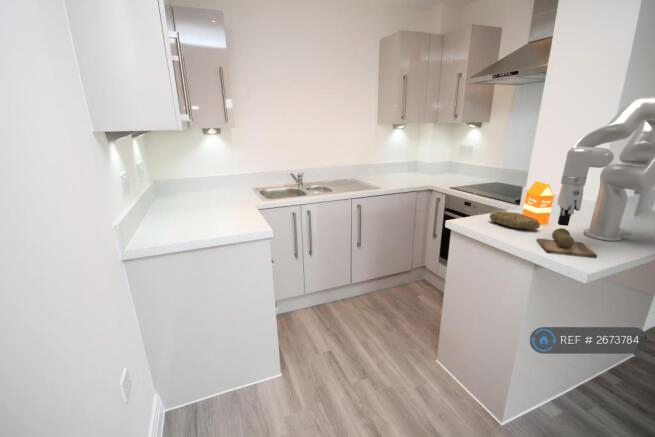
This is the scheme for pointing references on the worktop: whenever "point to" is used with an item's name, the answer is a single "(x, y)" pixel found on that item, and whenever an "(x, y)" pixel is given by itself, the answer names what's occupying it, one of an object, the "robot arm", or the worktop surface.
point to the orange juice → (539, 202)
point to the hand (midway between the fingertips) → (562, 224)
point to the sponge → (514, 220)
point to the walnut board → (575, 249)
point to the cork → (563, 237)
